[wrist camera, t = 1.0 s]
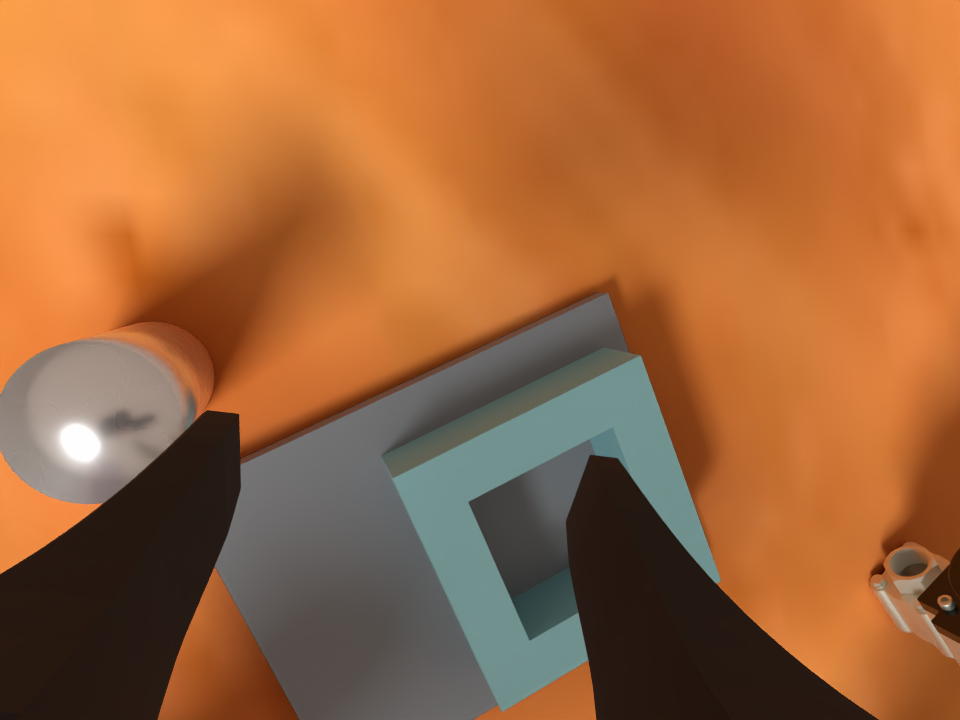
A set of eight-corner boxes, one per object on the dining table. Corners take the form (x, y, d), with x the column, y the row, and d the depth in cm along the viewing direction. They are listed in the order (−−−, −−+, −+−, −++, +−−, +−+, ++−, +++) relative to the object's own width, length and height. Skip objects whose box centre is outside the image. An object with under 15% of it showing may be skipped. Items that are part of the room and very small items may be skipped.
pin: (126, 451, 24) (49, 532, 16) (69, 349, 23) (-41, 384, 15) (234, 403, 25) (209, 458, 17) (182, 303, 24) (133, 314, 16)
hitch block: (340, 779, 27) (349, 860, 24) (180, 486, 24) (159, 525, 20) (697, 568, 31) (755, 609, 27) (597, 292, 28) (645, 294, 24)
